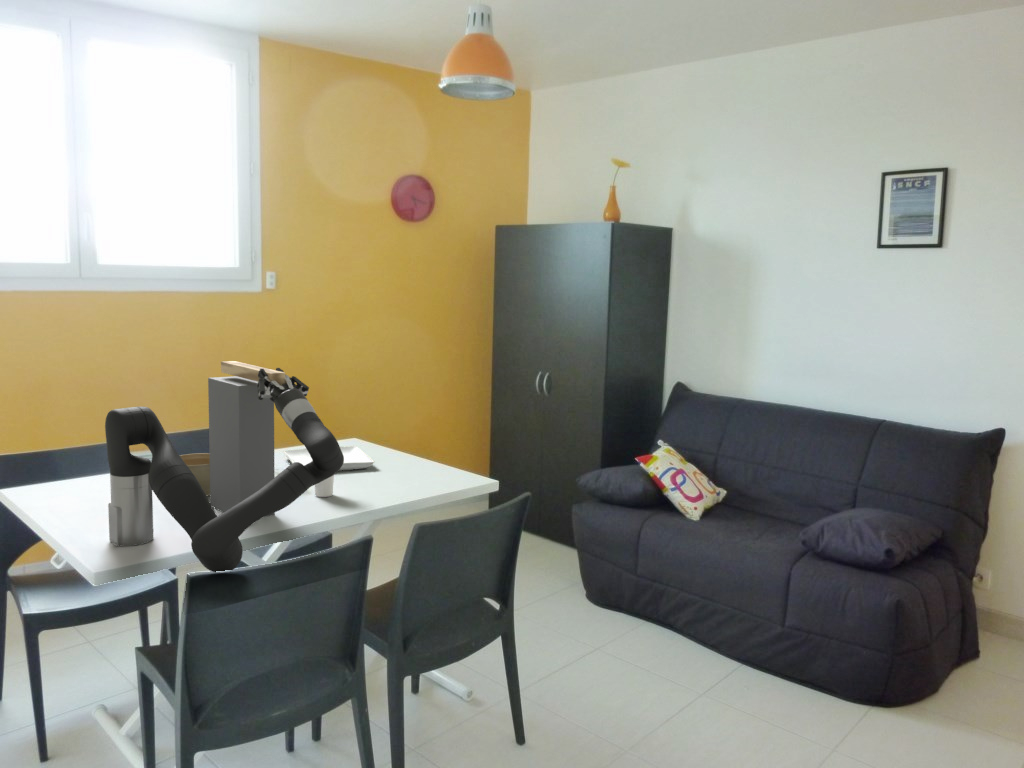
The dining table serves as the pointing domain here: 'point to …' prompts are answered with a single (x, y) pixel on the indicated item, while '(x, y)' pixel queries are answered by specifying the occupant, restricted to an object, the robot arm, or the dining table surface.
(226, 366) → the block
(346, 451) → the square plate
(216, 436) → the stand
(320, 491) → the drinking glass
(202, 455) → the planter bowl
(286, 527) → the dining table surface
